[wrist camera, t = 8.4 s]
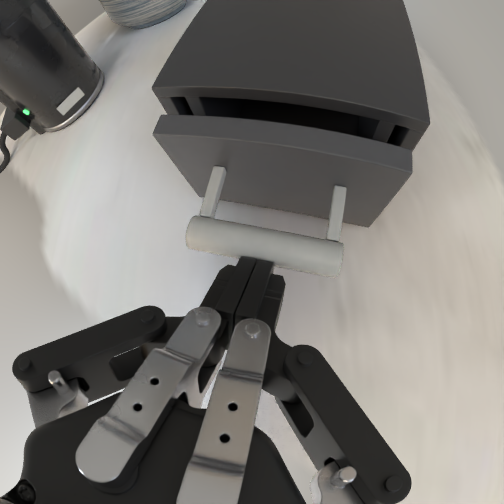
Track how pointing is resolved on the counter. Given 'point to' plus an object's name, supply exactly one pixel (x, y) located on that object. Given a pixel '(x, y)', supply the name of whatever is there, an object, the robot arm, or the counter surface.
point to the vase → (141, 11)
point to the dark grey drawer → (282, 174)
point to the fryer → (303, 60)
